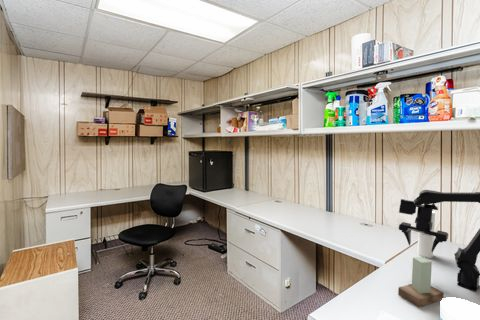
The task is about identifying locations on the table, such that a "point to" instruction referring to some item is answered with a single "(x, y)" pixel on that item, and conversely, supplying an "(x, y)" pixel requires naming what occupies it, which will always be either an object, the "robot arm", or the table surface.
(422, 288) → the block
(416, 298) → the plinth
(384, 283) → the table surface
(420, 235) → the cylindrical container
